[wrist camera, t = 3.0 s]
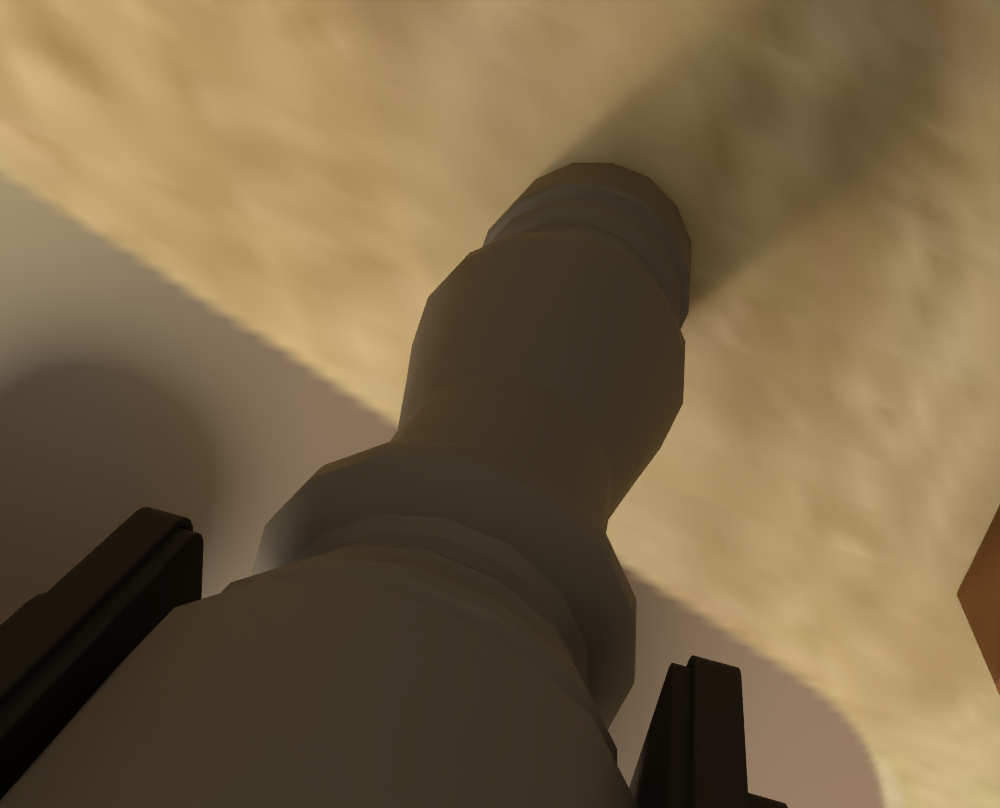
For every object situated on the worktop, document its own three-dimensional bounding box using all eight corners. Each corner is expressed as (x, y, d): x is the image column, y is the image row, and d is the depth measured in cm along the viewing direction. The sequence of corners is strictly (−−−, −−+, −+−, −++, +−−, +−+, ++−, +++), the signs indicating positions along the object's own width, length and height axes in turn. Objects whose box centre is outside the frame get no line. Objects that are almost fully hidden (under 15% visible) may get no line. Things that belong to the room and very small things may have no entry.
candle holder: (511, 144, 28) (-268, 730, 5) (714, 181, 27) (775, 1042, 5) (483, 331, 30) (-120, 1248, 8) (667, 371, 30) (563, 1499, 7)
